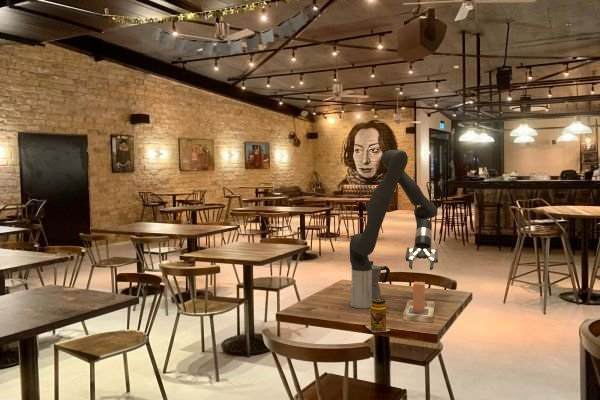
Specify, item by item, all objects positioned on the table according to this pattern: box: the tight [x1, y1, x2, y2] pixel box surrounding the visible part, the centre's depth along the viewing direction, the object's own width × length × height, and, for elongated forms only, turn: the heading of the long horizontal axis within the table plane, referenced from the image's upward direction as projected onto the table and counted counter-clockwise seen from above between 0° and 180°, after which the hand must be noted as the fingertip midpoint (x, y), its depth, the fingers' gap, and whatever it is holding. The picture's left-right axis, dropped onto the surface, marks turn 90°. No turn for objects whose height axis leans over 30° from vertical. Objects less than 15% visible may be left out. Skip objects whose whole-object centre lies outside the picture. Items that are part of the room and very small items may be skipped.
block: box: [412, 281, 426, 313], centre depth 220 cm, size 4×4×12 cm
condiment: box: [365, 298, 391, 333], centre depth 205 cm, size 7×8×12 cm
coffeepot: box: [369, 260, 391, 300], centre depth 252 cm, size 15×9×18 cm, turn 82°
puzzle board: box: [402, 299, 436, 323], centre depth 226 cm, size 12×24×3 cm, turn 163°
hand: (420, 268), depth 228 cm, fingers open, 8 cm apart
